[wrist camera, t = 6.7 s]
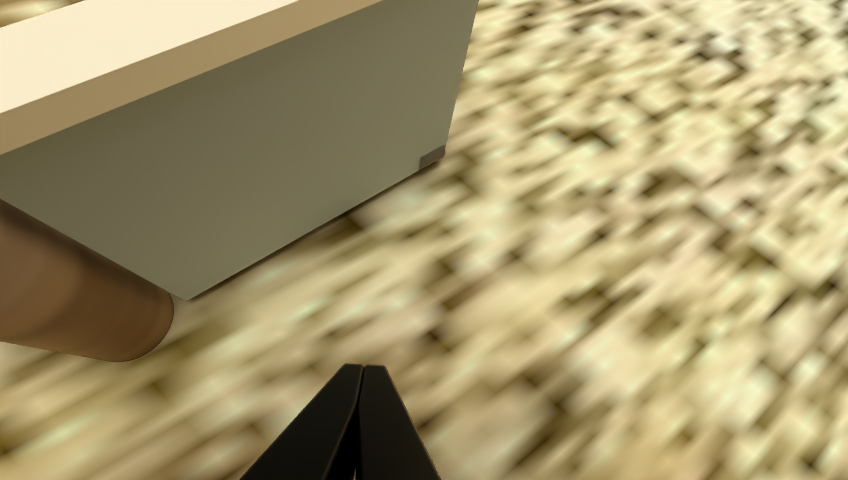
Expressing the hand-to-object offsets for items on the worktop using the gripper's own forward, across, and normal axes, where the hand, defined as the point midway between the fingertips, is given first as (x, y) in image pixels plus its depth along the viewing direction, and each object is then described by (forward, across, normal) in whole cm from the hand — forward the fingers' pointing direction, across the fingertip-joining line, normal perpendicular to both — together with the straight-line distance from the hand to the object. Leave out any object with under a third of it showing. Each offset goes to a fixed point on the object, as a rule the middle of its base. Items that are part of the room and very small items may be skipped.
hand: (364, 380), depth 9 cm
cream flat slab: (+9, +3, 0) cm, 10 cm away
